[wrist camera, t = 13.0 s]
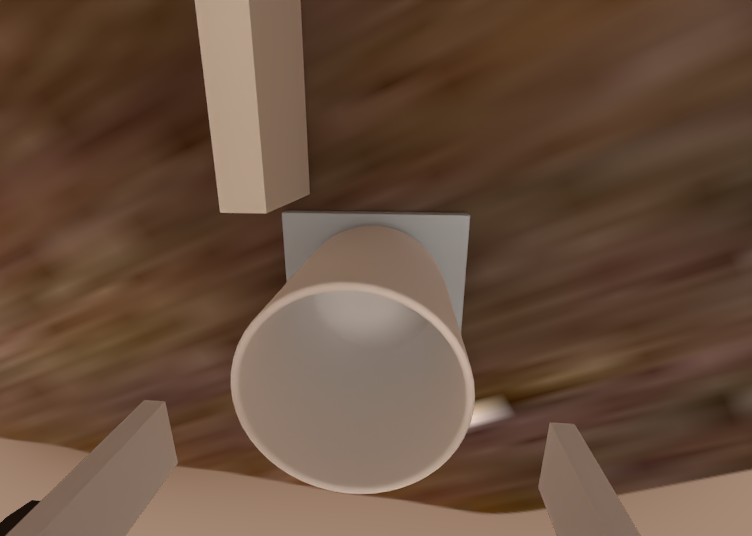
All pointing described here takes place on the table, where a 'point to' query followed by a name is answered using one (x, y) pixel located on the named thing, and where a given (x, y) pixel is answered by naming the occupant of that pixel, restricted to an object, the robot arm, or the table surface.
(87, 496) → the robot arm
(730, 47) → the table surface
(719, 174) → the table surface
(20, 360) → the table surface
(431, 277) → the mug
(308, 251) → the plate
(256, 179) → the beige block
